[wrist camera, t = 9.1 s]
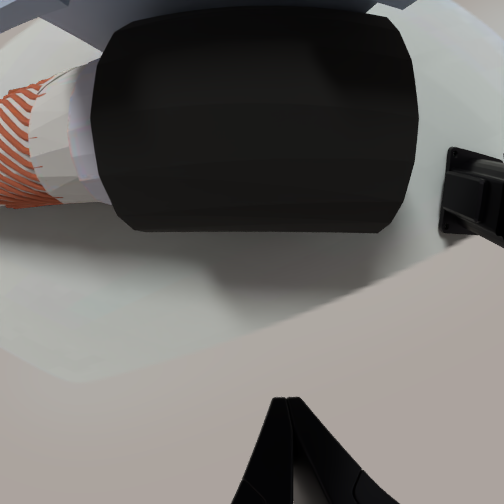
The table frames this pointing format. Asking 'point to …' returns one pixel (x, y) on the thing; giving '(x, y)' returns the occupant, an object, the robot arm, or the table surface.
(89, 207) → the table surface
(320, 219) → the cable
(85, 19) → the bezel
